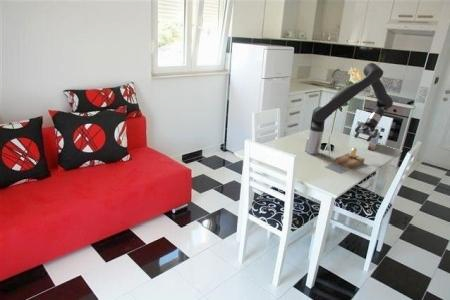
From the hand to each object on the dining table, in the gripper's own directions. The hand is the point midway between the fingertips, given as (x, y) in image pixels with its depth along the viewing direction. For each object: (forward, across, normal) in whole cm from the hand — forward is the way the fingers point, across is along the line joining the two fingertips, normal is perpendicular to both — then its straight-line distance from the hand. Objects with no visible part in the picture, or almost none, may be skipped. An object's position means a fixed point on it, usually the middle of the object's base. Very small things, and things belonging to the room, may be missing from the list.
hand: (361, 139), depth 218 cm
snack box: (-17, -6, +39) cm, 43 cm away
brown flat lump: (+18, 0, +4) cm, 19 cm away
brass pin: (+16, 0, +6) cm, 17 cm away
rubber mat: (+30, 0, -8) cm, 32 cm away
